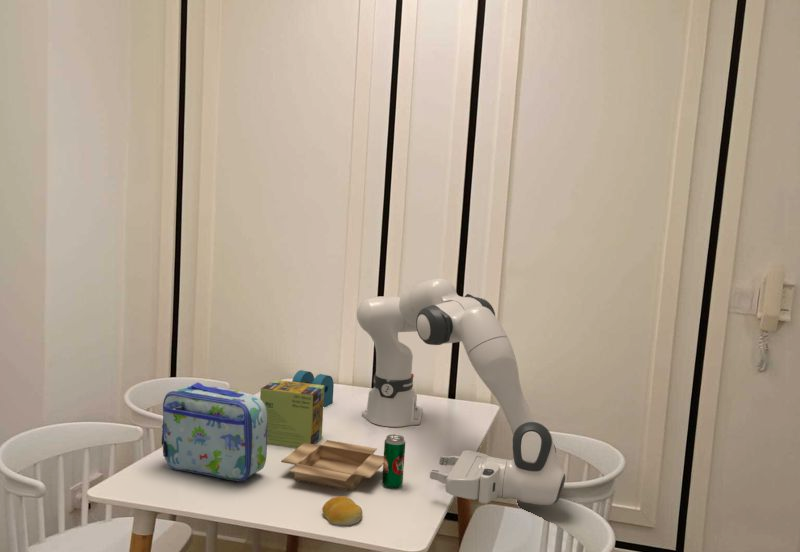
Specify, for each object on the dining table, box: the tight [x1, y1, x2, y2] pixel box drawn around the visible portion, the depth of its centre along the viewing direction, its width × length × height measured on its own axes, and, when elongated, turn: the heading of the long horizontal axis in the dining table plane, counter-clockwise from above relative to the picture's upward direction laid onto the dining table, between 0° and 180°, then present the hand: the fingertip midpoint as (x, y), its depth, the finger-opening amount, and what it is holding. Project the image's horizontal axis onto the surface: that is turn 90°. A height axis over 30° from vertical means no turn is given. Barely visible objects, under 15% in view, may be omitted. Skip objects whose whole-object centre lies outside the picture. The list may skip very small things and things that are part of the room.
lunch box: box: [161, 382, 268, 482], centre depth 176 cm, size 26×11×21 cm, turn 68°
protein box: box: [259, 379, 324, 449], centre depth 201 cm, size 10×15×16 cm
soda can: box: [381, 434, 406, 489], centre depth 175 cm, size 5×5×12 cm
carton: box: [280, 439, 384, 492], centre depth 179 cm, size 23×23×4 cm
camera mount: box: [291, 369, 335, 408], centre depth 231 cm, size 18×10×10 cm, turn 154°
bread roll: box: [321, 495, 363, 526], centre depth 157 cm, size 8×9×4 cm
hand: (435, 466), depth 172 cm, fingers open, 8 cm apart
